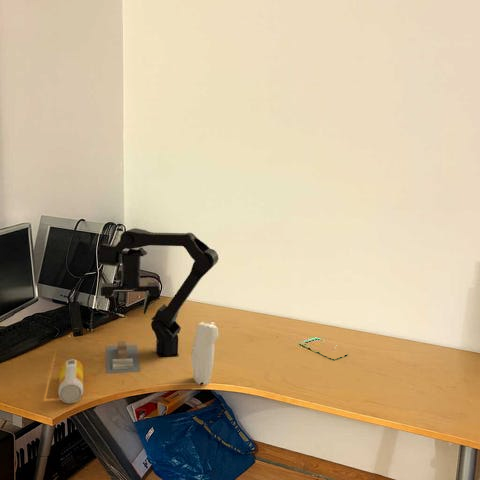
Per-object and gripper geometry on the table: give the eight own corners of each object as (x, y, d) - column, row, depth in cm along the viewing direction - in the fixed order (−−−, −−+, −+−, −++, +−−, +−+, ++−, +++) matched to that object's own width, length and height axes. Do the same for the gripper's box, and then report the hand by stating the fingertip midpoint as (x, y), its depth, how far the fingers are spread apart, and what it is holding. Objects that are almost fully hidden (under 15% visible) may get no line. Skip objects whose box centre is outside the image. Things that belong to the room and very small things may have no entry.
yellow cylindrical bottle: (62, 380, 142) (60, 407, 128) (58, 360, 140) (56, 386, 126) (84, 375, 144) (84, 401, 130) (81, 356, 142) (80, 380, 128)
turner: (112, 349, 162) (112, 341, 162) (131, 348, 164) (131, 340, 163) (112, 369, 148) (112, 361, 148) (133, 368, 150) (133, 360, 149)
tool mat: (136, 346, 167) (136, 344, 167) (140, 373, 148) (140, 371, 148) (105, 347, 165) (105, 346, 164) (105, 375, 146) (105, 373, 145)
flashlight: (216, 377, 149) (191, 375, 149) (220, 320, 146) (195, 318, 146) (214, 388, 143) (188, 385, 143) (218, 328, 139) (192, 326, 139)
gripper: (157, 262, 170) (156, 305, 173) (100, 261, 165) (100, 306, 168) (161, 270, 159) (159, 316, 162) (100, 270, 154) (100, 318, 157)
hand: (129, 314), depth 163 cm, fingers open, 9 cm apart
